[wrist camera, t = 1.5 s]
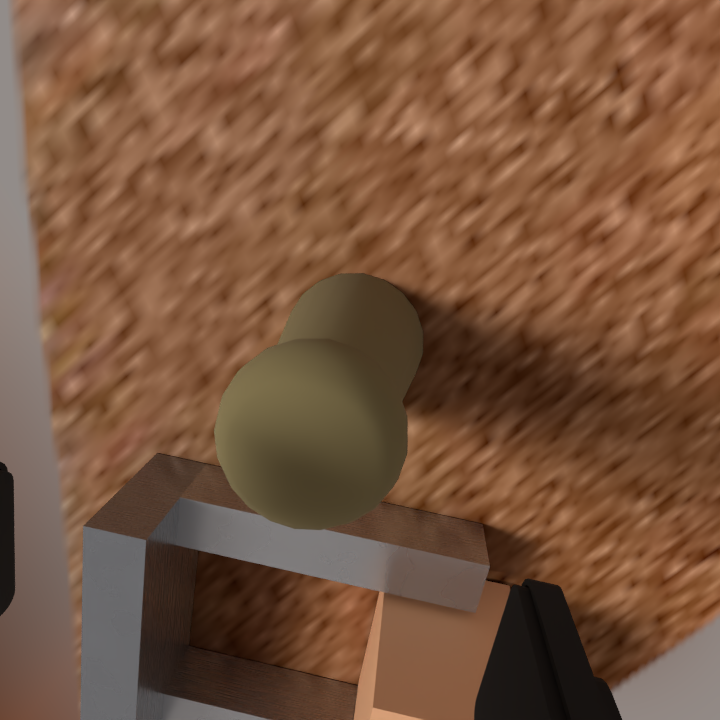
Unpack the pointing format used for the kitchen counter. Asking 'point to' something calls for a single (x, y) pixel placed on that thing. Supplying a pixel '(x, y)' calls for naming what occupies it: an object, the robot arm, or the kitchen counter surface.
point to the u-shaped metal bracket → (249, 543)
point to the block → (427, 657)
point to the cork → (324, 406)
